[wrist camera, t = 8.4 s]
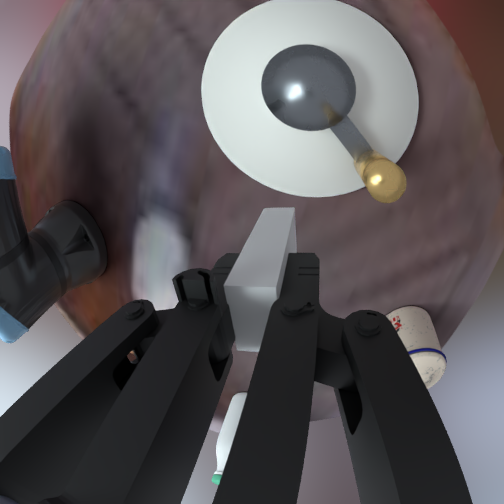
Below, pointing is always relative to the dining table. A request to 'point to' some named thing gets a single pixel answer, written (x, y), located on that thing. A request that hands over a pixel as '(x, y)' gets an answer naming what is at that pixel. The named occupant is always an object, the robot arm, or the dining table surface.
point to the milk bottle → (228, 433)
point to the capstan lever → (327, 110)
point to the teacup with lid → (420, 342)
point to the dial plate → (298, 141)
